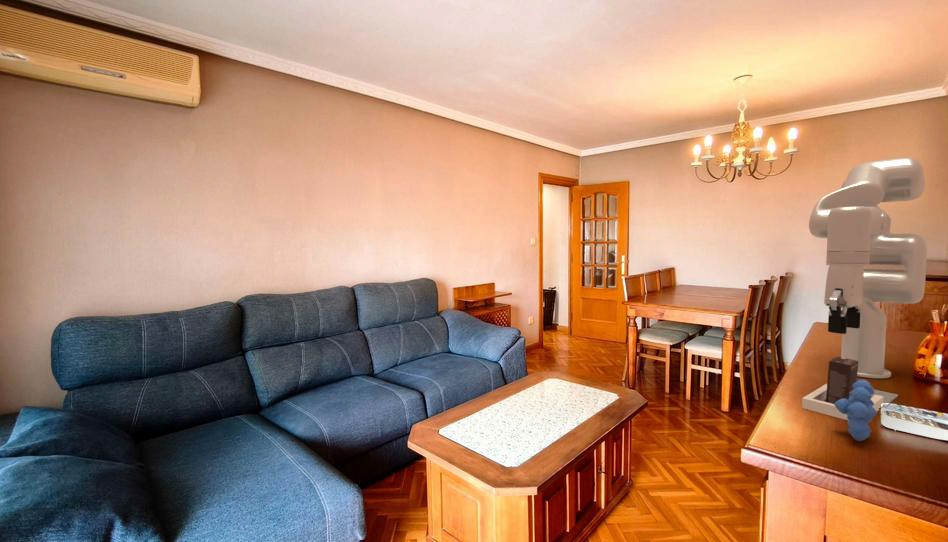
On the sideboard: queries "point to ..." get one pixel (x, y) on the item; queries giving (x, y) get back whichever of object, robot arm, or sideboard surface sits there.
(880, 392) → the mat
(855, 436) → the grapes
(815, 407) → the white rectangular frame
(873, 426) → the sideboard surface
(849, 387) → the box
